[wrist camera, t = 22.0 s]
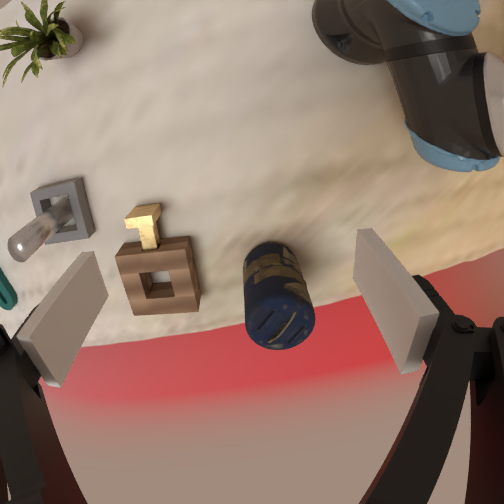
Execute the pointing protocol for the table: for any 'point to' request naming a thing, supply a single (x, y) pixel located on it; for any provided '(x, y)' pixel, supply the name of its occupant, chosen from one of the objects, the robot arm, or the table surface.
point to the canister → (276, 298)
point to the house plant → (42, 39)
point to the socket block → (160, 294)
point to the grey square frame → (78, 205)
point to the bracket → (6, 293)
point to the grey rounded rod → (39, 230)
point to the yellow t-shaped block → (145, 224)
